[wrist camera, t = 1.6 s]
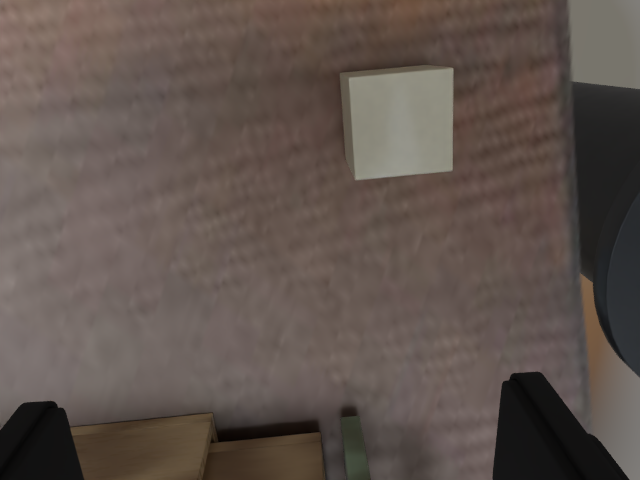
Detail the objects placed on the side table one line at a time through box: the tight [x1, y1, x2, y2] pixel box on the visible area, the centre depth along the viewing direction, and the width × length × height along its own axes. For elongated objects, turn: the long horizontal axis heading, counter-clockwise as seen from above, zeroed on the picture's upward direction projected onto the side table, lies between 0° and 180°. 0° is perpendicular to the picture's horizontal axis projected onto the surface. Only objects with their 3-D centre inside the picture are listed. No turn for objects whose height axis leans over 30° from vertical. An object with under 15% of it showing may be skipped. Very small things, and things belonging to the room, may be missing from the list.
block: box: [340, 65, 453, 180], centre depth 24 cm, size 4×4×4 cm
